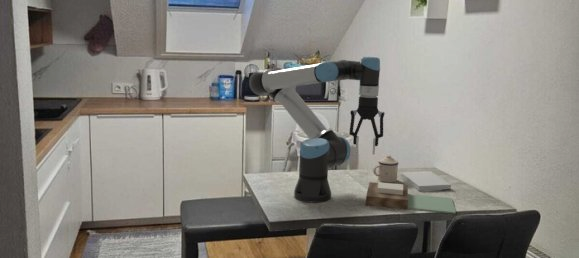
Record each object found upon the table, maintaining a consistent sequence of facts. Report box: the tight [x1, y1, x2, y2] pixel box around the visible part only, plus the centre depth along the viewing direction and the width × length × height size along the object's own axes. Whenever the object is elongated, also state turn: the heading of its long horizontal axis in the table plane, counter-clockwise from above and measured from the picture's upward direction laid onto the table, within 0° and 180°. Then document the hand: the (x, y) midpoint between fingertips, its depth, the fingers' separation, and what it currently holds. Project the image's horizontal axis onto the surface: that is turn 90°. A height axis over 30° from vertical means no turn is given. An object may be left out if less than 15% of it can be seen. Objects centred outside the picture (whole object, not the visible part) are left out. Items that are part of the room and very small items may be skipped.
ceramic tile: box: [377, 181, 404, 195], centre depth 213 cm, size 10×8×2 cm
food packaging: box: [399, 170, 452, 192], centre depth 239 cm, size 15×3×20 cm
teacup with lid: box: [373, 155, 399, 184], centre depth 242 cm, size 12×9×12 cm
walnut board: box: [365, 181, 409, 211], centre depth 214 cm, size 16×20×4 cm
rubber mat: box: [407, 193, 457, 215], centre depth 211 cm, size 18×18×1 cm
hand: (365, 152), depth 213 cm, fingers open, 6 cm apart
